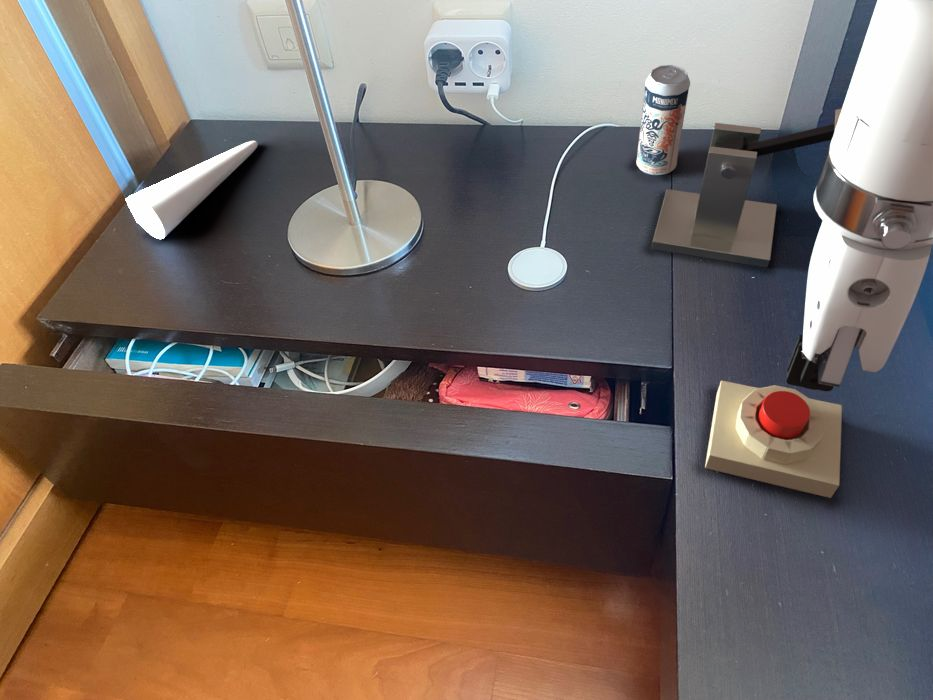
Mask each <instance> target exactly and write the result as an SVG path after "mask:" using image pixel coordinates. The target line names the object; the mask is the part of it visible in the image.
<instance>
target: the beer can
mask: <svg viewBox="0 0 933 700" xmlns="http://www.w3.org/2000/svg"><path fill="white" fill-rule="evenodd" d="M690 87H691V80H690V77H689V75H688V72H687V71H686V70H685V69H684V68H683V67H681V66H677V65H673V64H667V65H666V64H664V65H659V66H657V67H655V68H653V69H652V70H651V71H650V73H649V74H648V76H647V78H646V79H645V82H644V93H643V102H642V109H641V110H642V111H641V119H640V128H639V136H638V146H637V153H636V161H635V162H636V163H635V164H636V166H637V167H638V169H639V170H640V171H642V172H643V173H644V174H647V175H651V176H660V175H661V176H662V175H663V176H664V175H667V174H669V173H671V172H672V171H674V170H675V169H676V167H677V165H678V156H679V150H680V146H681V145H680V144H681V140H682V139H681V138H682V133H683V132H682V131H683V125H684V121H685V114H686V108H687V102H688V98H689V97H688V96H689V90H690Z"/></svg>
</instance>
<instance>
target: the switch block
mask: <svg viewBox="0 0 933 700" xmlns="http://www.w3.org/2000/svg"><path fill="white" fill-rule="evenodd" d="M776 391H788V392H791V393H794V394H796V395H798V396H800V397H801V398H802V399H803V400H804V401H805V402H806V403H807V405H808V407H809V410H810V417H809V419H808V421H807V423H806V425H805V427H804V429H803V431H802V432H801V433H800V434H799V435H798V436H796V437H794V438H790V439H782V438H777V437H774V436H772V435H770V434H769V433H767V432H766V431H765V430H764V429H763V428H762V426H761V425H760V423H759V419H758V414H759V411H760V409H761V406H762V404H763V401H764V399H765V398H766V397H767V396H768V395H769V394H771V393H773V392H776ZM842 418H843V405H842V404H839V403H833V402H829V401H823V400H819V399H814V398H810V397H808V396H806V395H805V394H803V393H802V392H800V391H799V390H797V389H796V388H790V387H785V386H781V385H774V384H773V385H769V386H764V387H755V386H751V385H746V384H741V383H736V382H731V381H727V380H720V382H719V386H718V388H717V392H716V396H715V402H714V410H713V415H712V421H711V428H710V433H709V440H708V445H707V452H706V457H705V464H704V468H705V469H707V470H711V471H714V472H715V471H716V472H721V473H725V474H727V475H733V476H735V477H736V476H737V477H740V478H746V479H750V480H753V481H758V482H762V483H766V484H771V485H773V486H778V487H783V488H786V489H791V490H795V491H799V492H804V493H808V494H812V495H816V496H821V497H825V498H829V499H832V497H833V495H834V494H835V492H836V491H837V489H838V488H839V487H840V477H841V475H840V473H841V450H842V449H841V448H842V420H843V419H842Z"/></svg>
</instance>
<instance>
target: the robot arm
mask: <svg viewBox="0 0 933 700" xmlns="http://www.w3.org/2000/svg"><path fill="white" fill-rule="evenodd" d="M841 109H842V110H841V113H840V116H839V119H838V122H837V125H836V128H835V132H834V134H833V137H832V140H830V143H829V147H828V149H827V153H826V156H825V158H824V161H823V165H822V168H821V171H820V174H819V177H818V180H817V183H816V186H815V190H814V192H813V206H814V209H815V211H816V213H817V215H818V217H819V218H820V219H821V225H820V227H819V230H818V233H817V236H816V239H815V242H814V246H813V249H812V253H811V256H810V261H809V266H808V271H807V280H806V290H805V300H804V301H805V303H804V315H803V328H802V330H803V331H802V334H799V335H798V338H797V340H796V342H795V345H794V347H793V351H792V352H791V356H790V357H789V361H788V363H787V370H786V371H787V375H786V384H787V385H790V386H794V387H795V386H796V387H802V388H804V389H807V390H813V391H822V392H831V391H832V390H833V389H834V388H835V387H836V388H839V387H840V386H841V383H842V381H843V379H844V376H845V373H846V370H847V368H848V365H849V362H850V360H851V357H852V354H853V351H854V350H855V348H858V355H859V359H860V360H859V361H860V366H861V370H862V371H863V372H870V373H877V372H879V371H881V370H882V369H883V368H884V367H885V365H886V363H887V362H888V359H889V358H890V355H891V354H892V351H893V348H894V347H895V344H896V342H897V340H898V338H899V336H900V335H901V331H902V329H903V327H904V326H905V322H906V320H907V318H908V316H909V314H910V312H911V309H912V307H913V305H914V303H915V300H916V298H917V295H918V292H919V290H920V286H921V284H922V282H923V279H924V276H925V273H926V269H927V266H928V263H929V260H930V257H931V253H932V248H933V0H877V1H876V4H875V6H874V9H873V13H872V16H871V18H870V22H869V24H868V28H867V31H866V34H865V36H864V40H863V43H862V47H861V50H860V52H859V55H858V57H857V61H856V64H855V67H854V71H853V74H852V77H851V79H850V83H849V86H848V89H847V92H846V95H845V99H844V102H843V104H842V107H841Z"/></svg>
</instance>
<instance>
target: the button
mask: <svg viewBox="0 0 933 700" xmlns="http://www.w3.org/2000/svg"><path fill="white" fill-rule="evenodd" d="M809 417H810V410H809V407H808V405H807V403H806V402H805V401H804V400H803V399H802V398H801V397H800V396H798V395H796V394H794V393H791V392H788V391H776V392H773V393H771V394H769V395H768V396H767V397H766V398H765V399H764V401H763V404H762V406H761V409H760V411H759V414H758V419H759V423H760V425H761V426H762V428H763V429H764V430H765V431H766V432H767V433H769V434H770V435H772V436H774V437H777V438H782V439H790V438H794V437H796V436H798V435H799V434H800V433H801V432H802V431H803V429H804V427H805V425H806V423H807V421H808V419H809Z"/></svg>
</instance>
